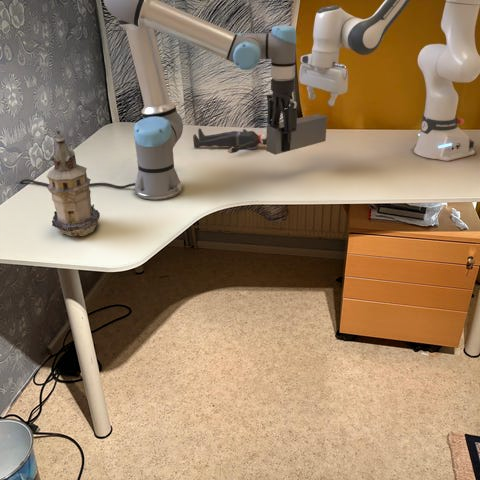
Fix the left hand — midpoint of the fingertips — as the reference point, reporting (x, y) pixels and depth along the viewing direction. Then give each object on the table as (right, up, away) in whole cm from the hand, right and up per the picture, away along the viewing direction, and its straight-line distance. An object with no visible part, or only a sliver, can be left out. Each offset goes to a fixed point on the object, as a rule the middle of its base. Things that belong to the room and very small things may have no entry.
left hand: (280, 148), depth 181 cm
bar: (+6, +2, +4) cm, 7 cm away
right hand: (+14, +16, +1) cm, 21 cm away
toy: (-17, +7, +34) cm, 39 cm away
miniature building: (-61, -28, -25) cm, 72 cm away
